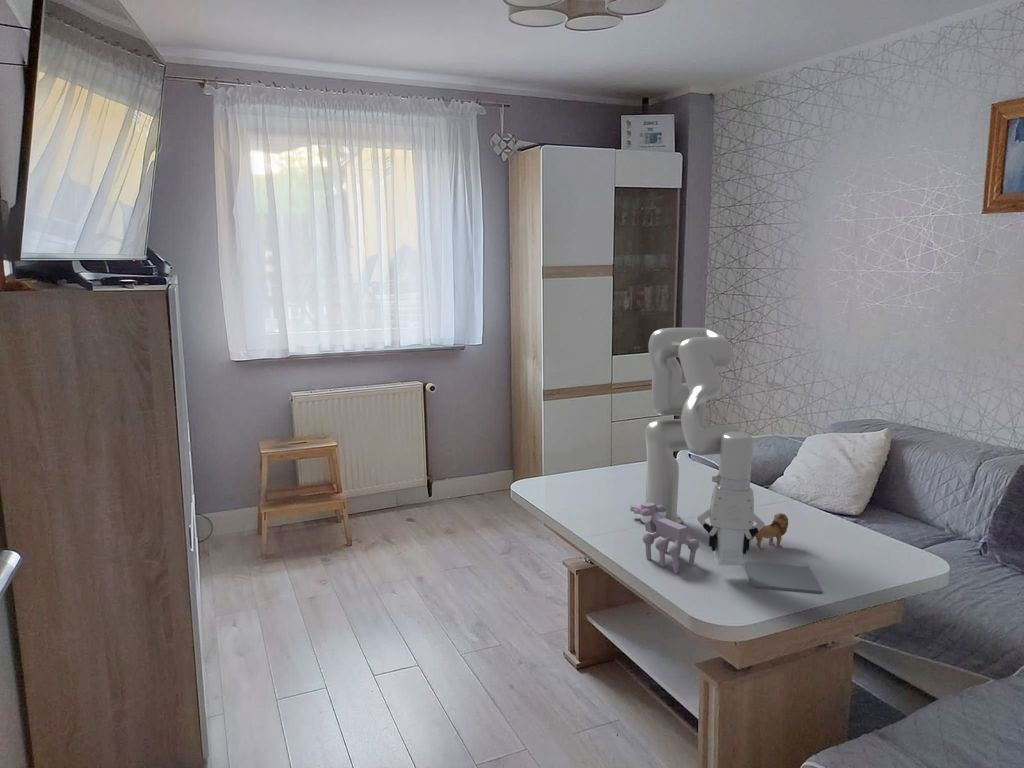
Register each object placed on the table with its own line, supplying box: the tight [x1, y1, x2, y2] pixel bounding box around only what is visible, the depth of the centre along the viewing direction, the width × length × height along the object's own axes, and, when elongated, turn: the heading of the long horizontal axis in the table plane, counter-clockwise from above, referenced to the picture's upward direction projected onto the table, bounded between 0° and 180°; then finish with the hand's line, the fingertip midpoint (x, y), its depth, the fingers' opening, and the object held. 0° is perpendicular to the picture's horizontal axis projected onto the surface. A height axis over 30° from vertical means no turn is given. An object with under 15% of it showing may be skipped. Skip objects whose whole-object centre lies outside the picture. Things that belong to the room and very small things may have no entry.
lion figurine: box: [749, 512, 789, 552], centre depth 193 cm, size 15×5×9 cm, turn 117°
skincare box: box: [713, 521, 744, 566], centre depth 173 cm, size 6×4×12 cm
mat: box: [743, 560, 822, 594], centre depth 174 cm, size 16×14×1 cm
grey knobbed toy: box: [636, 503, 700, 574], centre depth 185 cm, size 20×11×14 cm, turn 33°
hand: (728, 549), depth 174 cm, fingers closed on skincare box, 6 cm apart
